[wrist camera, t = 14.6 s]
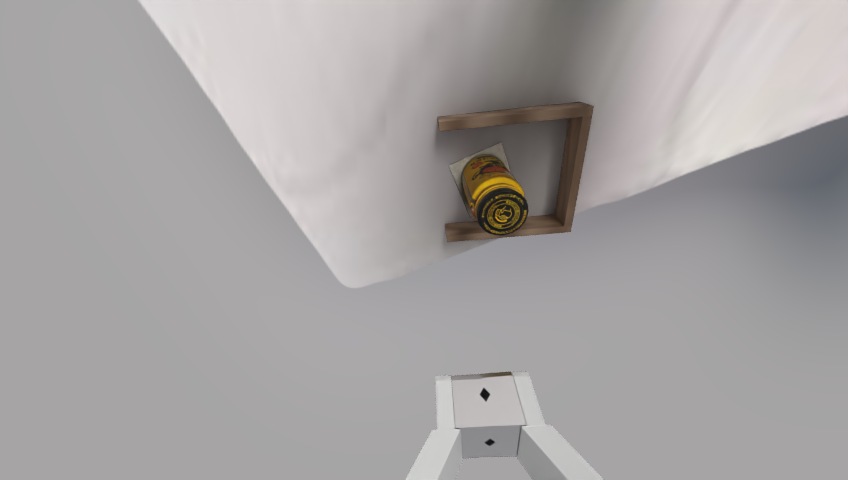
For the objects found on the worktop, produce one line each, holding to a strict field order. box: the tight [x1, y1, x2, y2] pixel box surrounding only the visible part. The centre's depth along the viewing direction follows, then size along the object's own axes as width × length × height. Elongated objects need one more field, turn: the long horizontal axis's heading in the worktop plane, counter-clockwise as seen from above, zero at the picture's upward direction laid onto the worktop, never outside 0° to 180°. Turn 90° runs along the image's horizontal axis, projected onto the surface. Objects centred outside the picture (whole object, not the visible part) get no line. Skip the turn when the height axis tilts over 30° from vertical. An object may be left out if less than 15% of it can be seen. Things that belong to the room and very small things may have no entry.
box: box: [438, 102, 594, 242], centre depth 39 cm, size 17×16×4 cm
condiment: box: [449, 142, 528, 236], centre depth 36 cm, size 7×8×12 cm
